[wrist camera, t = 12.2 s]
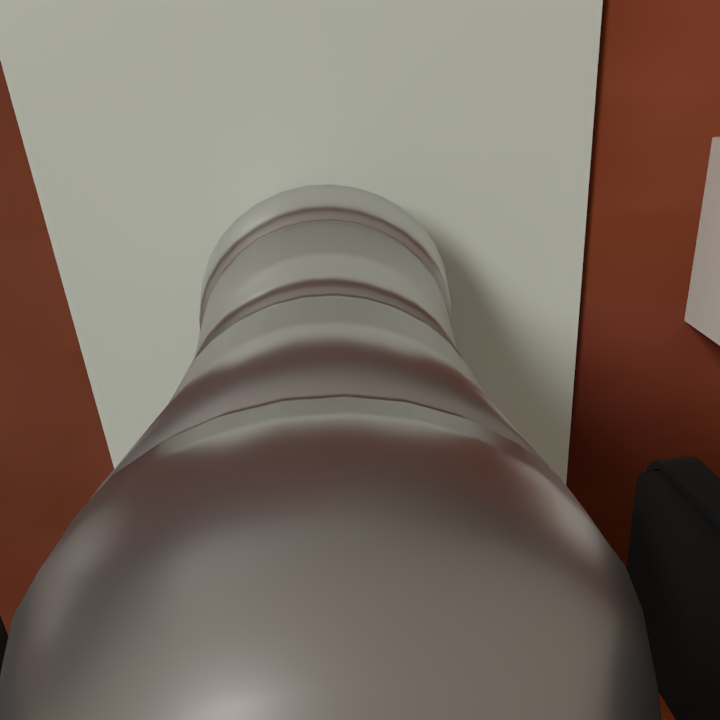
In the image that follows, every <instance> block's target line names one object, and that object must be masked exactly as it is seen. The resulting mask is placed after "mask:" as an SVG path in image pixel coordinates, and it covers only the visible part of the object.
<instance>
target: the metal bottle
mask: <svg viewBox="0 0 720 720" xmlns="http://www.w3.org/2000/svg"><path fill="white" fill-rule="evenodd" d="M450 320H451V301H450V295H449V288H448V283H447V278H446V273H445V268H444V264H443V262H442V259H441V257H440V255H439V252H438V250H437V248H436V246H435V243H434V242H433V241H432V239H431V238H430V237H429V235H428V234H427V232H426V231H425V230H424V228H423V227H422V226H421V224H419V223H418V222H417V221H416V220H415V219H414V218H413V217H412V216H411V215H409V214H408V213H407V212H406V211H405V210H404V209H403V208H401V207H399V206H397V205H396V204H394V203H392V202H391V201H389V200H387V199H385V198H384V197H382V196H380V195H377V194H374V193H371V192H368V191H365V190H362V189H359V188H355V187H349V186H342V185H334V184H322V185H307V186H303V187H299V188H296V189H292V190H288V191H284V192H280V193H278V194H276V195H274V196H272V197H270V198H268V199H265V200H263V201H261V202H259V203H257V204H256V205H254V206H253V207H252V208H250V209H249V210H248V211H246V212H245V213H244V214H242V215H241V216H240V217H238V218H237V219H236V220H235V221H234V223H233V224H232V225H231V226H230V227H229V228H228V229H227V231H226V232H225V233H224V234H223V235H222V236H221V238H220V239H219V241H218V243H217V245H216V247H215V248H214V250H213V252H212V254H211V256H210V257H209V260H208V264H207V267H206V270H205V274H204V277H203V281H202V289H201V298H200V312H199V324H200V335H199V340H198V344H197V349H196V353H195V358H194V360H193V361H192V363H191V365H190V366H189V368H188V370H187V372H186V374H185V375H184V377H183V379H182V381H181V382H180V384H179V386H178V388H177V389H176V391H175V393H174V395H173V396H172V398H171V400H170V402H169V404H168V405H167V406H166V407H165V408H164V410H163V411H162V412H161V413H160V415H159V416H158V417H157V418H156V419H155V421H154V422H153V423H152V424H151V425H150V427H149V428H148V429H147V430H146V432H145V433H144V434H143V435H142V436H141V438H140V439H139V440H138V441H137V442H136V444H135V445H134V446H133V447H132V448H131V450H130V451H129V452H128V453H127V455H126V456H125V457H124V458H123V459H122V461H121V462H120V463H119V464H118V465H117V467H116V468H115V469H114V470H113V472H112V473H111V474H110V475H109V476H108V478H107V479H106V480H105V481H104V482H103V484H102V485H101V486H100V487H99V489H98V490H97V491H96V492H95V493H94V495H93V496H92V497H91V499H90V500H89V501H88V502H87V503H86V505H85V506H84V507H83V508H82V509H81V510H80V511H79V512H78V513H77V514H76V516H75V517H74V519H73V521H72V522H71V524H70V525H69V527H68V528H67V530H66V531H65V533H64V535H63V536H62V538H61V539H60V541H59V542H58V544H57V545H56V547H55V548H54V550H53V551H52V553H51V554H50V555H49V557H48V558H47V560H46V561H45V563H44V564H43V565H42V567H41V568H40V570H39V571H38V573H37V575H36V577H35V578H34V580H33V582H32V584H31V586H30V587H29V589H28V591H27V593H26V595H25V596H24V598H23V600H22V602H21V604H20V605H19V607H18V609H17V611H16V613H15V614H14V616H13V619H12V623H11V628H10V632H9V637H8V641H7V645H6V650H5V654H4V659H3V663H2V669H1V675H0V720H661V713H660V700H659V691H658V686H657V681H656V676H655V671H654V666H653V660H652V655H651V650H650V645H649V640H648V635H647V630H646V625H645V619H644V614H643V609H642V607H641V604H640V602H639V599H638V596H637V594H636V591H635V589H634V586H633V584H632V581H631V579H630V576H629V574H628V571H627V569H626V566H625V565H624V564H623V562H622V561H621V560H620V558H619V557H618V556H617V554H616V553H615V552H614V550H613V549H612V548H611V546H610V545H609V544H608V542H607V541H606V539H605V538H604V537H603V535H602V534H601V532H600V531H599V529H598V528H597V526H596V525H595V523H594V522H593V521H592V519H591V518H590V516H589V515H588V513H587V512H586V511H585V509H584V508H583V507H582V505H581V504H580V503H579V502H578V500H577V499H576V498H575V496H574V495H573V494H572V492H571V491H570V490H569V489H568V487H567V486H566V485H565V483H564V482H563V481H562V479H561V478H560V477H559V476H558V475H557V474H556V473H554V472H553V471H552V470H551V469H550V467H549V466H548V465H547V463H546V462H545V461H544V460H543V459H542V458H541V456H540V455H539V454H538V453H537V452H536V451H535V450H534V449H533V447H532V446H531V445H530V444H529V443H528V442H527V441H526V440H525V439H524V437H523V436H522V435H521V434H520V433H519V432H518V431H517V430H516V428H515V427H514V426H513V425H512V424H511V423H510V422H509V421H508V419H507V418H506V417H505V416H504V415H503V414H502V413H501V412H500V410H499V409H498V408H497V407H496V406H495V405H494V404H493V403H492V402H491V400H490V399H489V398H488V397H487V396H486V395H485V393H484V391H483V390H482V388H481V387H480V385H479V383H478V382H477V380H476V378H475V377H474V375H473V373H472V372H471V370H470V369H469V367H468V366H467V364H466V363H465V362H464V360H463V358H462V356H461V354H460V352H459V351H458V349H457V348H456V345H455V341H454V337H453V333H452V329H451V325H450Z"/></svg>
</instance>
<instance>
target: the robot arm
mask: <svg viewBox="0 0 720 720" xmlns="http://www.w3.org/2000/svg"><path fill="white" fill-rule="evenodd" d="M627 571H628V574H629V576H630V579H631V581H632V584H633V586H634V589H635V591H636V594H637V596H638V599H639V602H640V604H641V607H642V609H643V614H644V619H645V625H646V630H647V635H648V640H649V645H650V650H651V655H652V660H653V666H654V671H655V676H656V681H657V686H658V691H659V693H660V694H661V696H662V698H663V699H664V701H665V703H666V704H667V706H668V708H669V709H670V711H671V713H672V714H673V716H674V718H675V720H720V479H719V478H718V477H717V476H716V475H715V474H714V473H713V472H712V471H711V470H710V469H709V468H708V467H707V466H706V465H705V464H703V463H702V462H701V461H700V460H699V459H697V458H696V457H684V458H675V459H666V460H658V461H654V462H652V463H651V464H650V465H649V467H648V470H647V472H643V473H641V474H640V475H639V476H638V479H637V484H636V493H635V502H634V511H633V520H632V529H631V537H630V546H629V555H628V564H627ZM7 641H8V635H7V632H6V629H5V627H4V624H3V622H2V619H1V617H0V675H1V669H2V663H3V659H4V654H5V650H6V645H7Z"/></svg>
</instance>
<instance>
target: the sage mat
mask: <svg viewBox="0 0 720 720" xmlns="http://www.w3.org/2000/svg"><path fill="white" fill-rule="evenodd" d="M602 4H603V0H0V60H1V64H2V68H3V71H4V75H5V78H6V82H7V85H8V89H9V93H10V96H11V100H12V103H13V107H14V111H15V114H16V118H17V121H18V125H19V128H20V132H21V136H22V139H23V143H24V146H25V150H26V154H27V157H28V161H29V164H30V168H31V172H32V175H33V179H34V182H35V186H36V189H37V193H38V197H39V200H40V204H41V207H42V211H43V215H44V218H45V222H46V225H47V229H48V232H49V236H50V240H51V243H52V247H53V250H54V254H55V258H56V261H57V265H58V268H59V272H60V275H61V279H62V283H63V286H64V290H65V293H66V297H67V301H68V304H69V308H70V311H71V315H72V319H73V322H74V326H75V329H76V333H77V336H78V340H79V344H80V347H81V351H82V354H83V358H84V362H85V365H86V369H87V372H88V376H89V379H90V383H91V387H92V390H93V394H94V397H95V401H96V405H97V408H98V412H99V415H100V419H101V423H102V426H103V430H104V433H105V437H106V440H107V444H108V448H109V451H110V455H111V458H112V462H113V466H114V469H115V468H116V467H117V465H118V464H119V463H120V462H121V461H122V459H123V458H124V457H125V456H126V455H127V453H128V452H129V451H130V450H131V448H132V447H133V446H134V445H135V444H136V442H137V441H138V440H139V439H140V438H141V436H142V435H143V434H144V433H145V432H146V430H147V429H148V428H149V427H150V425H151V424H152V423H153V422H154V421H155V419H156V418H157V417H158V416H159V415H160V413H161V412H162V411H163V410H164V408H165V407H166V406H167V405H168V404H169V402H170V400H171V398H172V396H173V395H174V393H175V391H176V389H177V388H178V386H179V384H180V382H181V381H182V379H183V377H184V375H185V374H186V372H187V370H188V368H189V366H190V365H191V363H192V361H193V360H194V358H195V353H196V349H197V344H198V340H199V335H200V324H199V312H200V298H201V289H202V281H203V277H204V274H205V270H206V267H207V264H208V260H209V257H210V256H211V254H212V252H213V250H214V248H215V247H216V245H217V243H218V241H219V239H220V238H221V236H222V235H223V234H224V233H225V232H226V231H227V229H228V228H229V227H230V226H231V225H232V224H233V223H234V221H235V220H236V219H237V218H238V217H240V216H241V215H242V214H244V213H245V212H246V211H248V210H249V209H250V208H252V207H253V206H254V205H256V204H257V203H259V202H261V201H263V200H265V199H268V198H270V197H272V196H274V195H276V194H278V193H280V192H284V191H288V190H292V189H296V188H299V187H303V186H307V185H322V184H334V185H342V186H349V187H355V188H359V189H362V190H365V191H368V192H371V193H374V194H377V195H380V196H382V197H384V198H385V199H387V200H389V201H391V202H392V203H394V204H396V205H397V206H399V207H401V208H403V209H404V210H405V211H406V212H407V213H408V214H409V215H411V216H412V217H413V218H414V219H415V220H416V221H417V222H418V223H419V224H421V226H422V227H423V228H424V230H425V231H426V232H427V234H428V235H429V237H430V238H431V239H432V241H433V242H434V243H435V246H436V248H437V250H438V252H439V255H440V257H441V259H442V262H443V264H444V268H445V273H446V278H447V283H448V288H449V295H450V301H451V320H450V325H451V329H452V333H453V337H454V341H455V345H456V348H457V349H458V351H459V352H460V354H461V356H462V358H463V360H464V362H465V363H466V364H467V366H468V367H469V369H470V370H471V372H472V373H473V375H474V377H475V378H476V380H477V382H478V383H479V385H480V387H481V388H482V390H483V391H484V393H485V395H486V396H487V397H488V398H489V399H490V400H491V402H492V403H493V404H494V405H495V406H496V407H497V408H498V409H499V410H500V412H501V413H502V414H503V415H504V416H505V417H506V418H507V419H508V421H509V422H510V423H511V424H512V425H513V426H514V427H515V428H516V430H517V431H518V432H519V433H520V434H521V435H522V436H523V437H524V439H525V440H526V441H527V442H528V443H529V444H530V445H531V446H532V447H533V449H534V450H535V451H536V452H537V453H538V454H539V455H540V456H541V458H542V459H543V460H544V461H545V462H546V463H547V465H548V466H549V467H550V469H551V470H552V471H553V472H554V473H556V474H557V475H558V476H559V477H560V478H561V479H562V481H563V482H564V483H565V485H566V480H567V466H568V453H569V440H570V427H571V414H572V400H573V387H574V374H575V361H576V348H577V334H578V321H579V308H580V295H581V282H582V268H583V255H584V242H585V229H586V216H587V202H588V189H589V176H590V163H591V150H592V136H593V123H594V110H595V97H596V84H597V70H598V57H599V44H600V31H601V18H602Z"/></svg>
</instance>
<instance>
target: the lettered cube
mask: <svg viewBox="0 0 720 720" xmlns="http://www.w3.org/2000/svg"><path fill="white" fill-rule="evenodd" d="M684 321H686V322H687V323H688V324H690V325H691V326H693V327H694V328H696V329H697V330H698V331H700V332H701V333H703V334H704V335H705V336H707V337H708V338H710V339H711V340H712V341H714V342H715V343H717V344H718V345H720V137H713V139H712V145H711V152H710V158H709V165H708V171H707V178H706V184H705V191H704V197H703V203H702V210H701V216H700V223H699V229H698V236H697V242H696V249H695V255H694V262H693V268H692V275H691V281H690V288H689V294H688V301H687V307H686V314H685V320H684Z"/></svg>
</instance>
